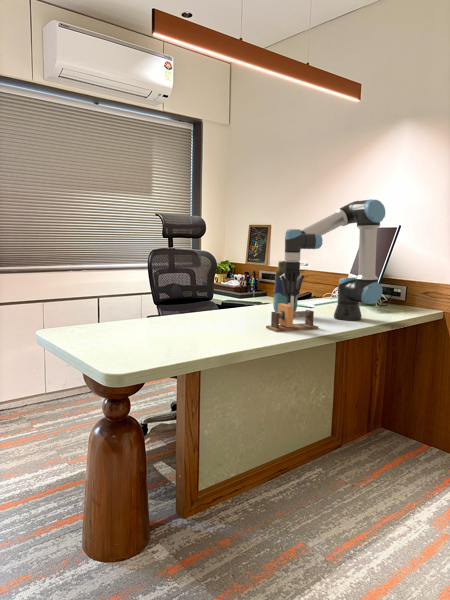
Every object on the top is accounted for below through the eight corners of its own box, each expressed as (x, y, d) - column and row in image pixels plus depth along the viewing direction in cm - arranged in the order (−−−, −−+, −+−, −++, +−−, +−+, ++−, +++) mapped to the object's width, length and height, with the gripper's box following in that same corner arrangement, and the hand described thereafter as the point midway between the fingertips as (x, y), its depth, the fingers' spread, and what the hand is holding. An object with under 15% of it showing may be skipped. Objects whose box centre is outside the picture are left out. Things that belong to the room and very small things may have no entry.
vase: (268, 315, 266) (270, 261, 261) (279, 312, 277) (280, 260, 273) (291, 318, 258) (293, 262, 254) (300, 314, 270) (302, 261, 266)
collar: (282, 323, 232) (283, 303, 231) (292, 326, 223) (293, 306, 222) (277, 323, 231) (277, 303, 230) (287, 327, 222) (287, 306, 220)
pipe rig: (307, 325, 238) (308, 308, 237) (318, 328, 229) (319, 311, 227) (266, 328, 229) (266, 310, 228) (275, 331, 220) (276, 313, 219)
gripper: (299, 260, 230) (298, 307, 233) (276, 261, 225) (275, 308, 228) (308, 261, 223) (306, 309, 226) (284, 261, 218) (282, 311, 221)
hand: (290, 309), depth 227 cm, fingers closed
